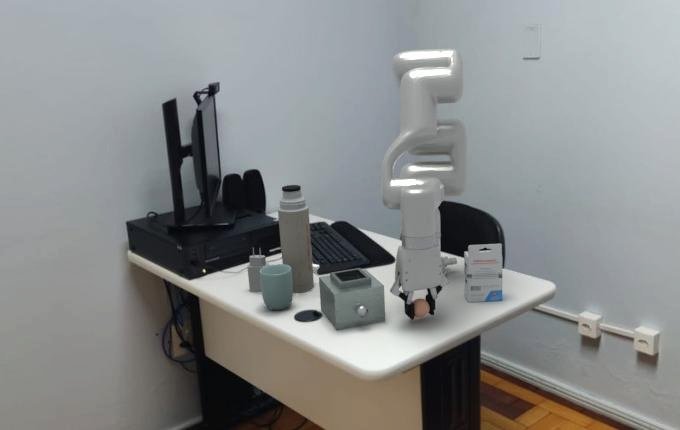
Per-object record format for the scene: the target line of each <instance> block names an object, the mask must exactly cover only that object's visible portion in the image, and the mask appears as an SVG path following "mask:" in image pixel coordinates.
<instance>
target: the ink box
mask: <svg viewBox="0 0 680 430" xmlns="http://www.w3.org/2000/svg"><path fill="white" fill-rule="evenodd" d="M485 248H486V249H487V250H483V249H485ZM502 248H503V244H502V243H488V244H487V243H486V244H484V243H483V244H469V245H468V247H467V250H466V251H463V252H464V253H463V257H464V259H463V260H464V264H463V268H464V269H463V270H464V271H463V272H464V279H463V280H464V296H465V298H466V300H467V302H469V303H477V302H478V303H479V302H482V303H483V302H494V301H495V302H496V301H497V302H499V301H503V249H502Z"/></svg>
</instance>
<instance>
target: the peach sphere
mask: <svg viewBox="0 0 680 430" xmlns="http://www.w3.org/2000/svg"><path fill="white" fill-rule="evenodd" d="M412 303H414V314H415V318H417V319H418V318H419V319H421V318H422V319H423V318H425V317H427V316H428V315H429V310H430V306H429V304H428V302H427V301H426V300H425V298H416V299H414V300H412Z"/></svg>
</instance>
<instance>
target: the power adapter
mask: <svg viewBox="0 0 680 430" xmlns="http://www.w3.org/2000/svg"><path fill="white" fill-rule="evenodd" d="M261 249H262V248H261V247H259V250H258V251H259V254H255V248H254V247H252V255H249V264H248V265H247V277H248V285H249V286H248V287H249V292H250V293H262V292H261V285H260V269H261V268H263V267H265V266H268V265H270V263H268V262H267V260H266V256H265V255H262V250H261Z"/></svg>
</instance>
